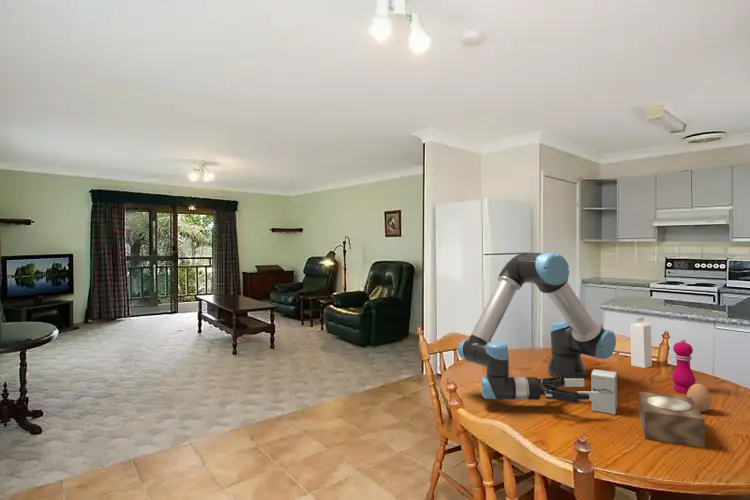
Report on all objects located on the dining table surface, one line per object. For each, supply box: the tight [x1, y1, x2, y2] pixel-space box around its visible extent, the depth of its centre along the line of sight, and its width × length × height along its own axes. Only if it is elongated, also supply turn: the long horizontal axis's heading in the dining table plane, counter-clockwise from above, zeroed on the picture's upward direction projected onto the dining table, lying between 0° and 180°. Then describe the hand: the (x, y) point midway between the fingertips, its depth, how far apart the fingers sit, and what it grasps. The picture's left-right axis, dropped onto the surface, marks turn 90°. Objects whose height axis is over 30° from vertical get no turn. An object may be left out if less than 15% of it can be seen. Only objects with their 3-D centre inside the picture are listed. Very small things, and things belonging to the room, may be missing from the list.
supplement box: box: [590, 369, 618, 415], centre depth 146 cm, size 7×7×13 cm
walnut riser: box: [638, 391, 706, 449], centre depth 128 cm, size 14×18×8 cm
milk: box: [629, 316, 653, 369], centre depth 194 cm, size 6×6×22 cm
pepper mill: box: [671, 338, 697, 395], centre depth 161 cm, size 7×7×20 cm
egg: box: [686, 383, 713, 413], centre depth 142 cm, size 7×7×9 cm
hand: (591, 389), depth 146 cm, fingers open, 13 cm apart
